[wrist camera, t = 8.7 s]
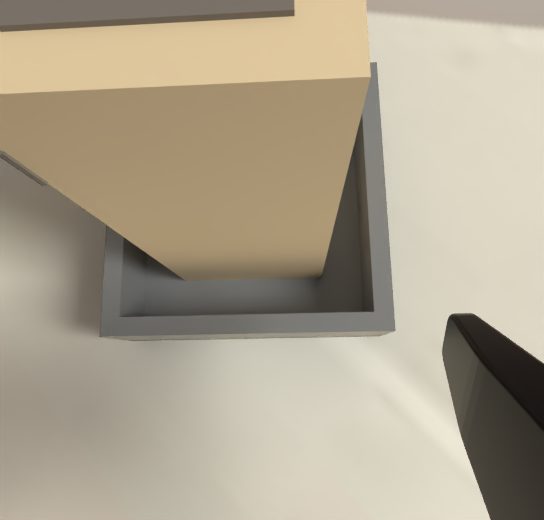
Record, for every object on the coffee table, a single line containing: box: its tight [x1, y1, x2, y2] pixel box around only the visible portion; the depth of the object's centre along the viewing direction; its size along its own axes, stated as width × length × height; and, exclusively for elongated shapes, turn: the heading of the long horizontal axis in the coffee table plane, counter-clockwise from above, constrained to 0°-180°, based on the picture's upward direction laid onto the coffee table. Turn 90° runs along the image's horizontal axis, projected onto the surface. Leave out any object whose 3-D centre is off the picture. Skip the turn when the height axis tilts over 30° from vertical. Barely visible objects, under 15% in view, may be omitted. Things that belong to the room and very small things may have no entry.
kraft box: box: [0, 0, 371, 281], centre depth 12 cm, size 5×5×13 cm
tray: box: [100, 62, 395, 341], centre depth 17 cm, size 9×9×3 cm
